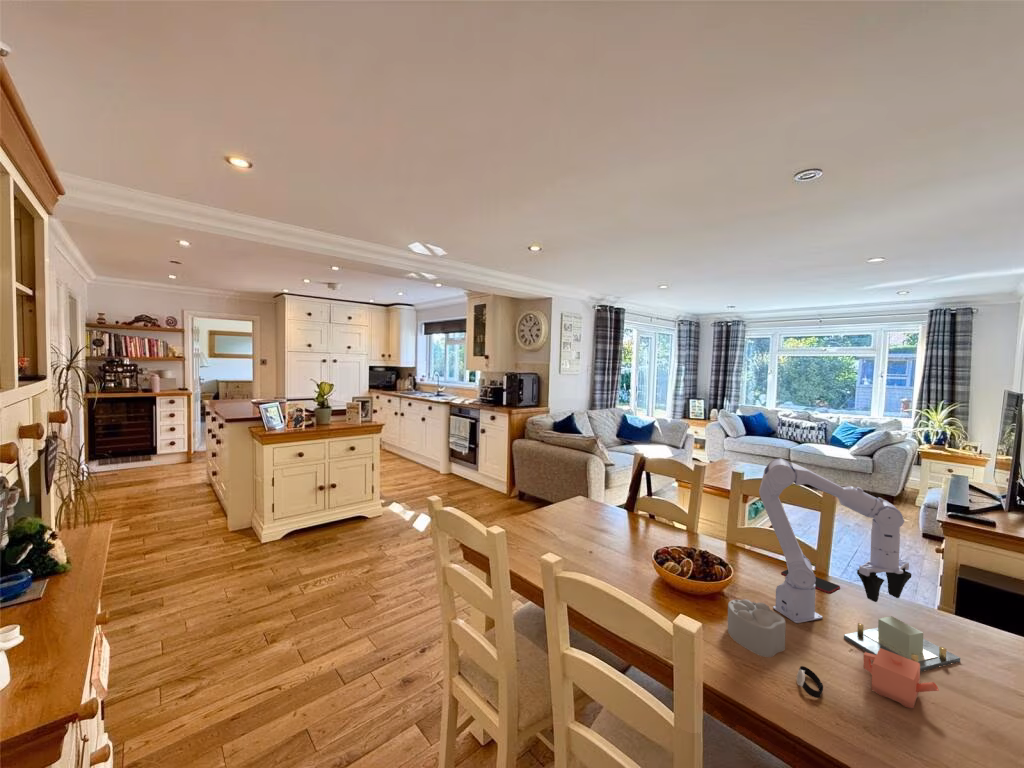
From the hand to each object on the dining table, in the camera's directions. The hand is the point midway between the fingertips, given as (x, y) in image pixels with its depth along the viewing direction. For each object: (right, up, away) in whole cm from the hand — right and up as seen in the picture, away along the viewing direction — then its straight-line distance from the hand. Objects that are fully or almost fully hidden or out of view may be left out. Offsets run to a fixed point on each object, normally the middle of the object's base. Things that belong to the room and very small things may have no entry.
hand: (883, 598), depth 113 cm
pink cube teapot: (-15, -11, -21) cm, 28 cm away
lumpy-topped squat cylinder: (-36, -10, -2) cm, 37 cm away
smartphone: (0, -9, +28) cm, 29 cm away
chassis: (-2, -10, -7) cm, 12 cm away
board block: (-2, -8, -7) cm, 11 cm away
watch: (-33, -11, -19) cm, 39 cm away
